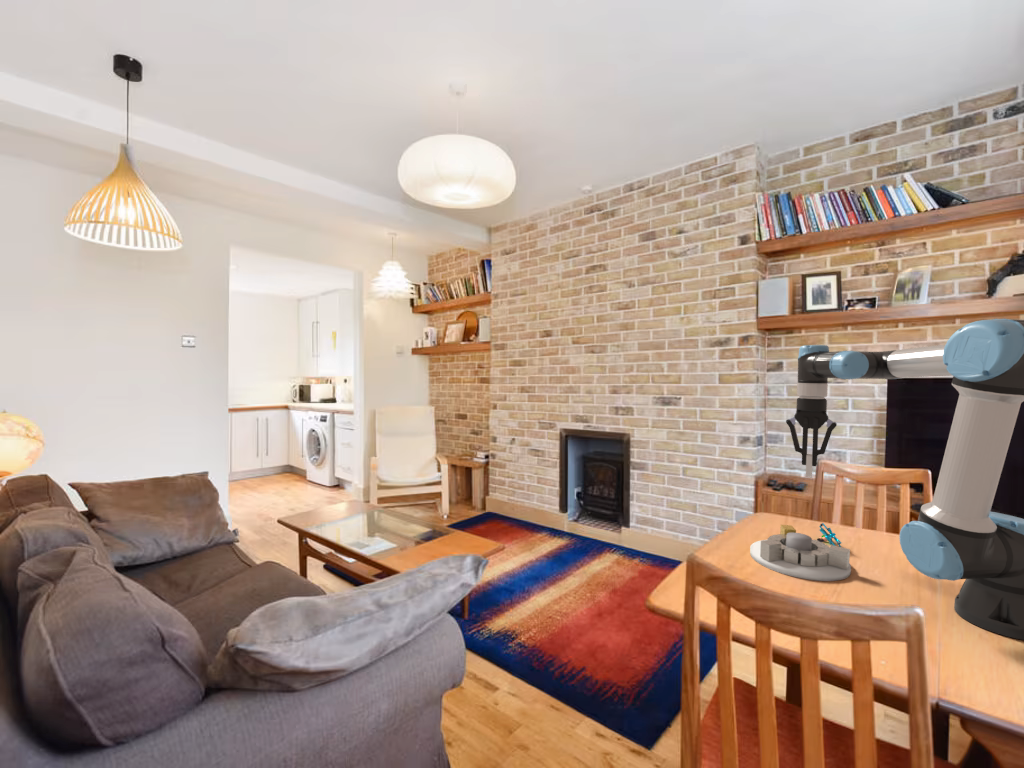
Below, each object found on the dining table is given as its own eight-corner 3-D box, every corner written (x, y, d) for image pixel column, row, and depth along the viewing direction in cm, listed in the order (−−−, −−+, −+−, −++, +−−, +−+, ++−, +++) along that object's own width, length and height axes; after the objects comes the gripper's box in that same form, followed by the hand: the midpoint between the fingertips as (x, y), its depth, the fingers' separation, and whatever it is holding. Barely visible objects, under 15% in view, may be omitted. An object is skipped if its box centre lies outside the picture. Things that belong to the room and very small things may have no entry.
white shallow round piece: (873, 581, 119) (874, 554, 119) (778, 580, 120) (779, 553, 119) (814, 544, 143) (815, 522, 143) (735, 543, 144) (735, 521, 143)
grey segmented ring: (825, 543, 140) (826, 528, 140) (854, 570, 121) (855, 553, 121) (747, 536, 145) (747, 521, 145) (763, 561, 127) (763, 544, 127)
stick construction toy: (848, 546, 136) (829, 522, 139) (825, 558, 138) (807, 533, 141) (837, 544, 147) (819, 521, 150) (816, 554, 148) (799, 531, 151)
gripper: (838, 397, 138) (835, 477, 139) (787, 395, 145) (784, 471, 147) (838, 399, 132) (835, 482, 133) (785, 397, 139) (782, 475, 140)
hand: (808, 476), depth 140 cm, fingers closed
